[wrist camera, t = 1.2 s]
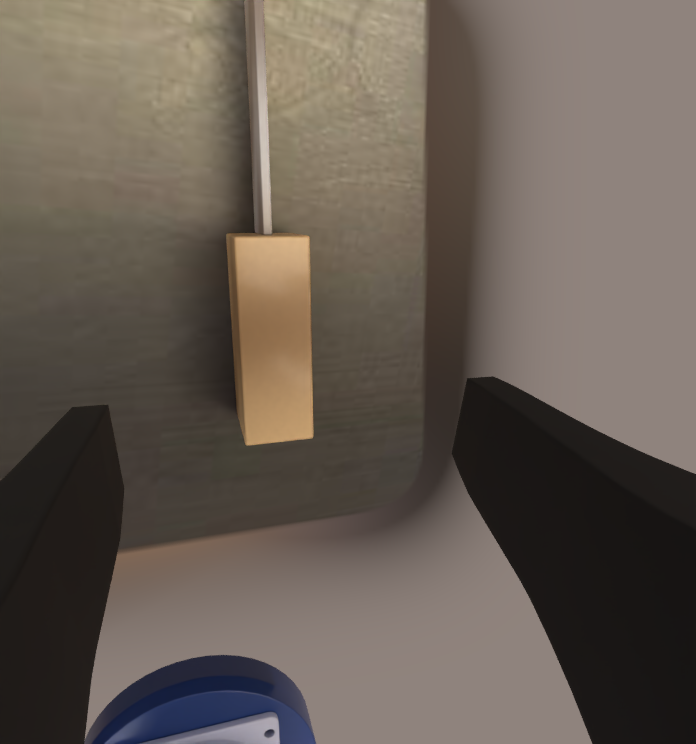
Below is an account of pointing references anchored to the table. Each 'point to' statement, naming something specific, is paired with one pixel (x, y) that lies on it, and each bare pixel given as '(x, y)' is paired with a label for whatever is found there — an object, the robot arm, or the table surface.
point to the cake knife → (269, 289)
